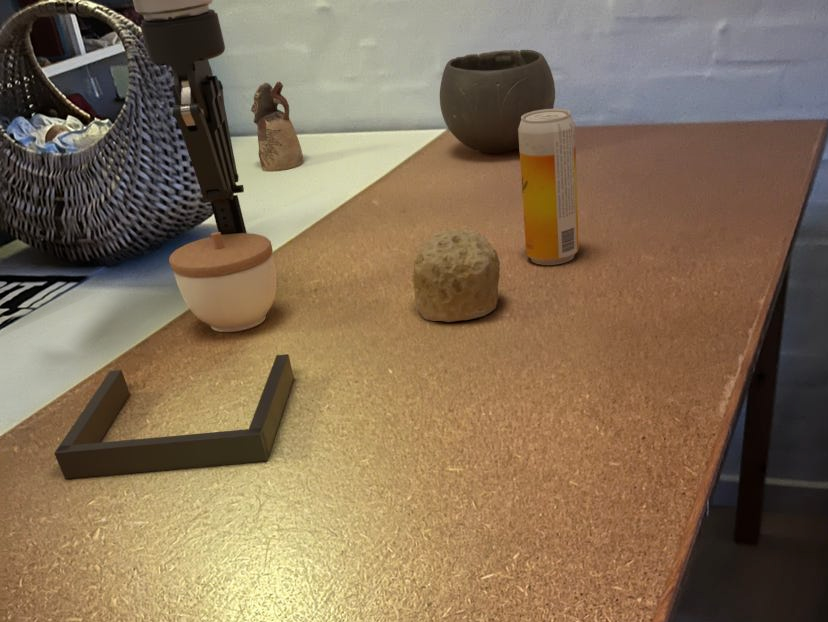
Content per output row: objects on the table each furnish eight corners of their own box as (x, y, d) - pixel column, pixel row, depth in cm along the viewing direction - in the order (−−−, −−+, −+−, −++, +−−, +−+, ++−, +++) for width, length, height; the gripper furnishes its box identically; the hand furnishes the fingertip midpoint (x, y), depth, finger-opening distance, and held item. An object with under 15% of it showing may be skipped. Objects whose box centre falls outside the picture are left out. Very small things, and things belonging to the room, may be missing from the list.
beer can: (550, 245, 117) (544, 105, 107) (589, 254, 113) (586, 110, 104) (515, 261, 114) (505, 118, 104) (554, 270, 110) (547, 123, 101)
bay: (118, 394, 95) (109, 370, 93) (294, 378, 94) (288, 353, 93) (64, 479, 83) (53, 453, 81) (267, 461, 82) (260, 434, 80)
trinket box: (293, 298, 111) (274, 212, 105) (279, 335, 103) (257, 244, 97) (200, 307, 112) (177, 222, 106) (179, 345, 103) (152, 255, 98)
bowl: (526, 128, 164) (521, 41, 156) (577, 148, 151) (575, 54, 143) (428, 149, 159) (418, 60, 151) (472, 171, 146) (463, 75, 138)
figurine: (272, 159, 164) (255, 78, 157) (310, 158, 162) (295, 76, 155) (253, 171, 159) (234, 88, 151) (293, 170, 157) (276, 86, 149)
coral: (434, 291, 109) (426, 219, 104) (513, 293, 106) (508, 220, 101) (402, 323, 102) (391, 249, 97) (485, 327, 99) (478, 251, 94)
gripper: (201, 17, 89) (263, 275, 104) (227, -2, 99) (280, 237, 114) (121, 27, 90) (194, 283, 105) (155, 7, 100) (217, 244, 115)
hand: (239, 259), depth 110 cm, fingers closed
